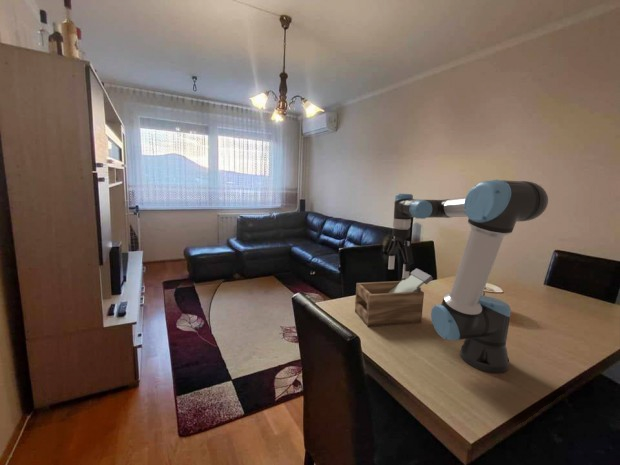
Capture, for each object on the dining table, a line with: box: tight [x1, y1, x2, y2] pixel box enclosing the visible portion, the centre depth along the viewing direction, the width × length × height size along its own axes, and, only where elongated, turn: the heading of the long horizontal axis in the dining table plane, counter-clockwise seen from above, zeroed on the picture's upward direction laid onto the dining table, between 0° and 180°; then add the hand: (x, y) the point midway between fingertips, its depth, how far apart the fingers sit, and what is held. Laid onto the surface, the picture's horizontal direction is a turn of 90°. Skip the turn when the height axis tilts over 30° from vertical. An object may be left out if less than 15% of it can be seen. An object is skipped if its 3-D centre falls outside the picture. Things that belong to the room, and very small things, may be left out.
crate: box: [354, 277, 425, 328], centre depth 137 cm, size 16×26×16 cm, turn 102°
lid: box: [388, 268, 434, 293], centre depth 138 cm, size 12×18×2 cm
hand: (397, 273), depth 136 cm, fingers open, 13 cm apart
